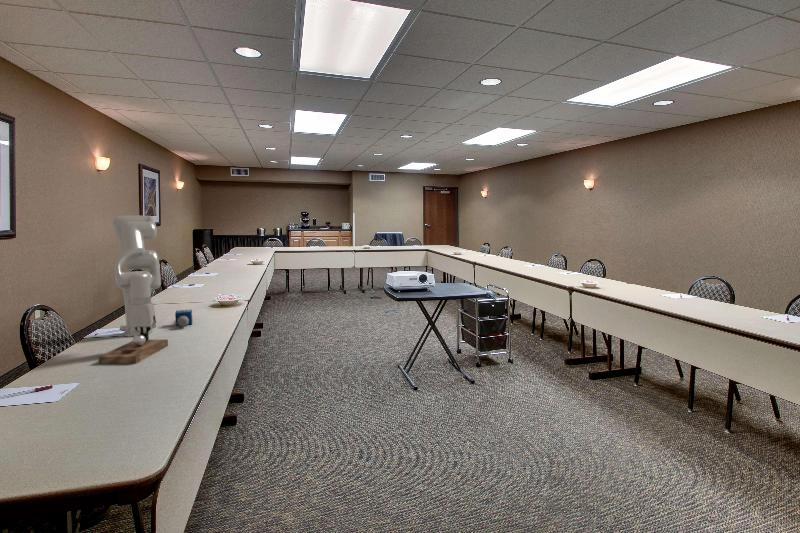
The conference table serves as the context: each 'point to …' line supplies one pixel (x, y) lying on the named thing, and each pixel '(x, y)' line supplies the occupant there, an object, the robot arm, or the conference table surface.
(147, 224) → the robot arm
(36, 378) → the conference table surface
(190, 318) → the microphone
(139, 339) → the ball
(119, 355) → the deck
